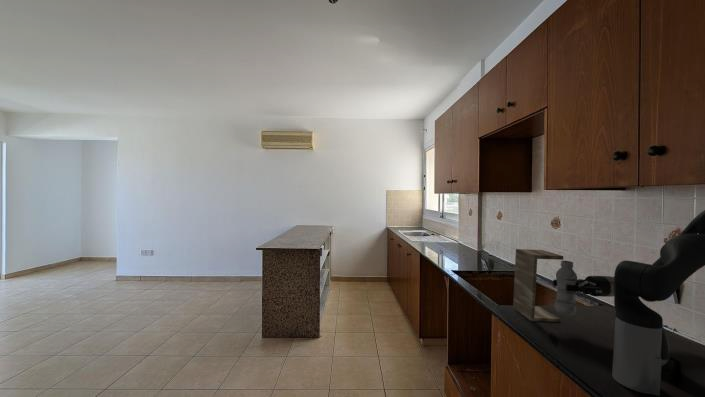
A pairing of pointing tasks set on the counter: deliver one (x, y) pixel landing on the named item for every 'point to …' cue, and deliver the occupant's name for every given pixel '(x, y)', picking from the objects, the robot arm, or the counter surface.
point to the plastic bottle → (565, 298)
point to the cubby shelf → (530, 284)
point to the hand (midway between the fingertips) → (560, 285)
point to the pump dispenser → (664, 348)
